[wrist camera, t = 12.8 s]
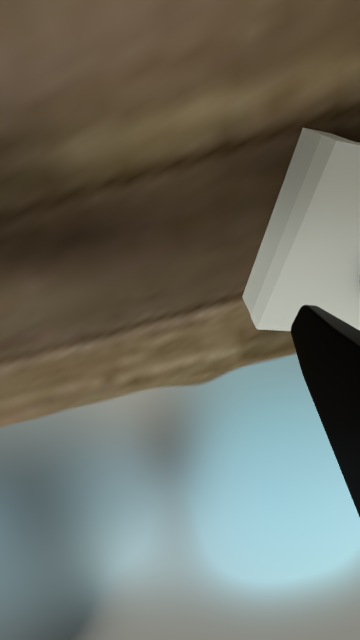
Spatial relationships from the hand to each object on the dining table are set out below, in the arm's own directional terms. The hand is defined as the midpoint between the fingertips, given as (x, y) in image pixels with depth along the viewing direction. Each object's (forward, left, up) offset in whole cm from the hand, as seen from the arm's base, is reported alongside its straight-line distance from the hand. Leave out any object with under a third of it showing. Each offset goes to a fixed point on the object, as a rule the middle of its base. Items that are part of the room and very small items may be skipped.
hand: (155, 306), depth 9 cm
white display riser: (+15, -2, -13) cm, 20 cm away
